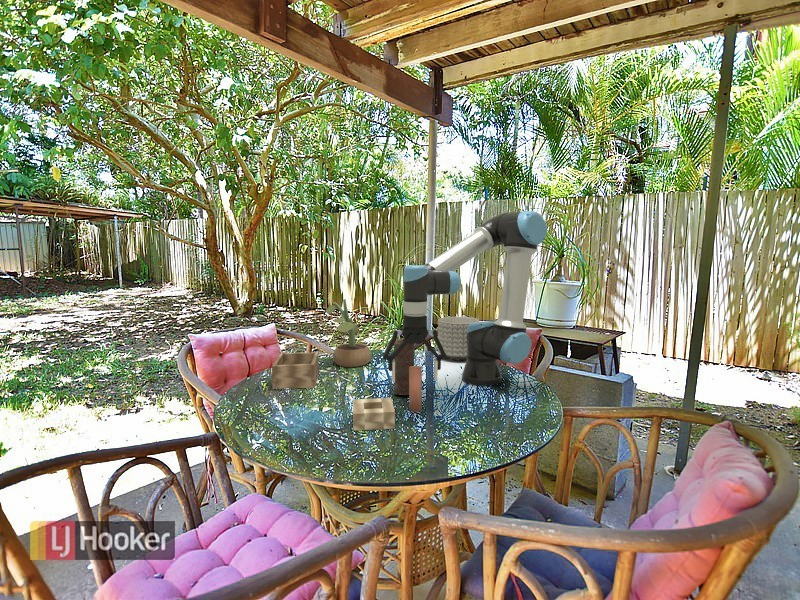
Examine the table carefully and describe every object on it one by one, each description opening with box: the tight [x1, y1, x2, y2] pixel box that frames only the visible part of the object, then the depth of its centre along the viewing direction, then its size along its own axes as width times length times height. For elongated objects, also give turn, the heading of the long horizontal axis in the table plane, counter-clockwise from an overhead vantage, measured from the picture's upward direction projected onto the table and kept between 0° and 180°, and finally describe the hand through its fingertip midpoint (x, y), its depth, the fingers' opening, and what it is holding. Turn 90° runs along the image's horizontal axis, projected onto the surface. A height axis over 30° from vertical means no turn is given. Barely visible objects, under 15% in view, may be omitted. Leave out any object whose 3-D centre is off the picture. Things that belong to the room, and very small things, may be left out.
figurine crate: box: [271, 351, 320, 389], centre depth 175 cm, size 15×19×9 cm
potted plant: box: [325, 298, 372, 368], centre depth 197 cm, size 22×18×30 cm
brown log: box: [393, 338, 415, 396], centre depth 157 cm, size 8×7×20 cm
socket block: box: [352, 397, 396, 431], centre depth 134 cm, size 12×12×5 cm
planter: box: [437, 316, 480, 361], centre depth 208 cm, size 19×19×18 cm
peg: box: [408, 365, 423, 413], centre depth 143 cm, size 4×4×14 cm
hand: (414, 380), depth 143 cm, fingers open, 13 cm apart
